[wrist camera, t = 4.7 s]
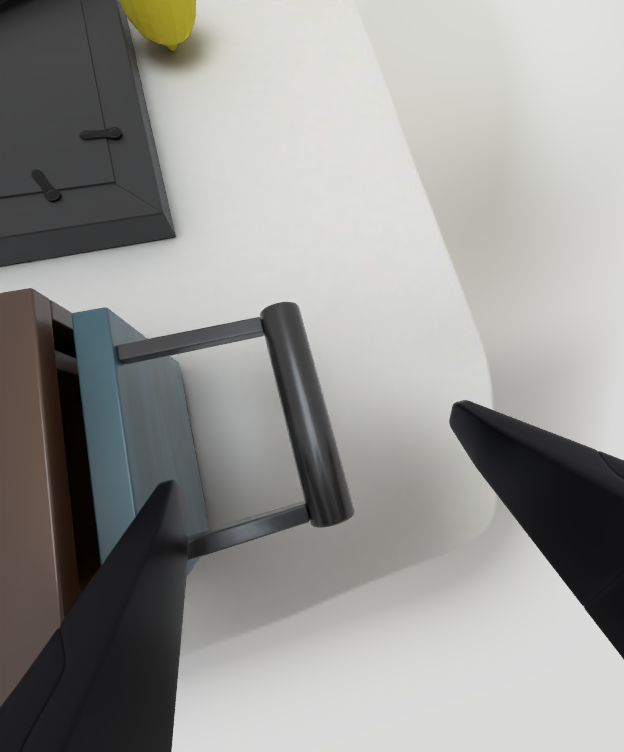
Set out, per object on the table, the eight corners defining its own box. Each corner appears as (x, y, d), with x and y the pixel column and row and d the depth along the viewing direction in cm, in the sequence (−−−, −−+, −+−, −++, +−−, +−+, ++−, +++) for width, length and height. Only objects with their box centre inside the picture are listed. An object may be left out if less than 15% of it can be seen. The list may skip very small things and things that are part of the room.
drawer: (286, 339, 19) (292, 269, 11) (329, 503, 17) (371, 556, 9) (-57, 413, 16) (-376, 387, 8) (-51, 622, 14) (-457, 845, 6)
